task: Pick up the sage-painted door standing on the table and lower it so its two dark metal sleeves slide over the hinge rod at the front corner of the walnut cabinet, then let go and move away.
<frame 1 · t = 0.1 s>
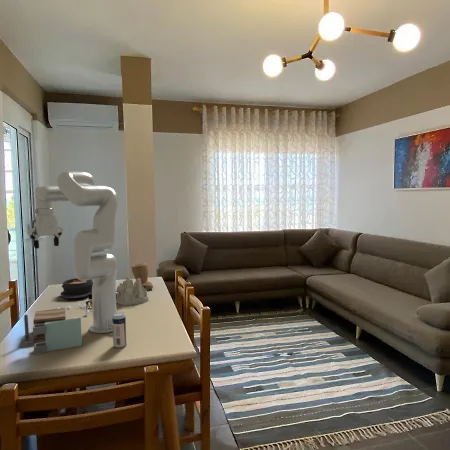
hand: (46, 247, 175), 31 cm above the table, tool pointing down, fingers open, 9 cm apart
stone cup: (142, 288, 217), on the table
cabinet: (51, 332, 146), on the table
beer can: (120, 346, 133), on the table
casserole: (78, 295, 203), on the table
grey castle model: (132, 301, 191), on the table
door: (64, 347, 132), on the table
game piece set: (72, 314, 171), on the table
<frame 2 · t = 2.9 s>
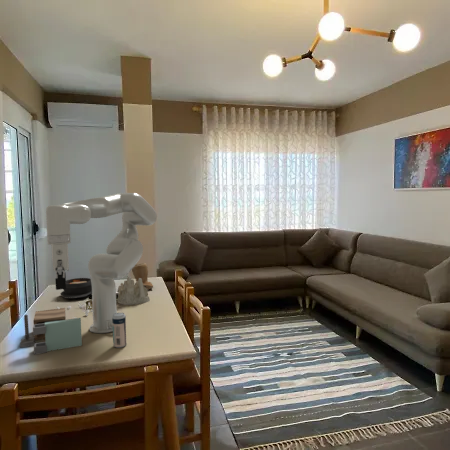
hand: (61, 286, 130), 23 cm above the table, tool pointing down, fingers open, 9 cm apart
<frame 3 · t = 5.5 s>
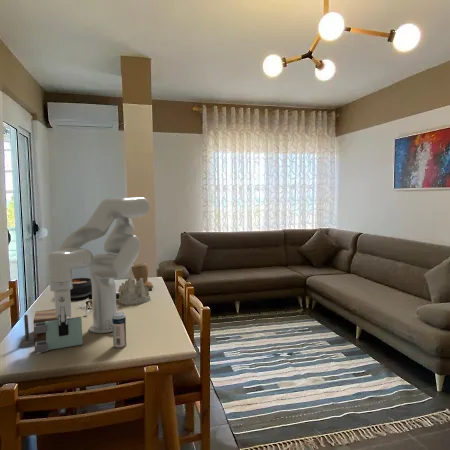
hand: (63, 333, 132), 5 cm above the table, tool pointing down, fingers closed on door
door: (65, 346, 132), on the table, touching gripper
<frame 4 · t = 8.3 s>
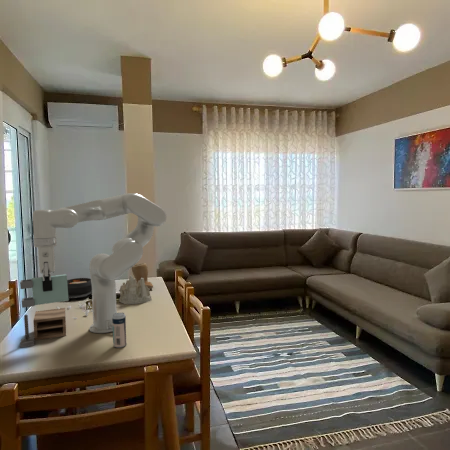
hand: (47, 289, 137), 20 cm above the table, tool pointing down, fingers closed on door
door: (51, 302, 137), point 15 cm above the table, touching gripper
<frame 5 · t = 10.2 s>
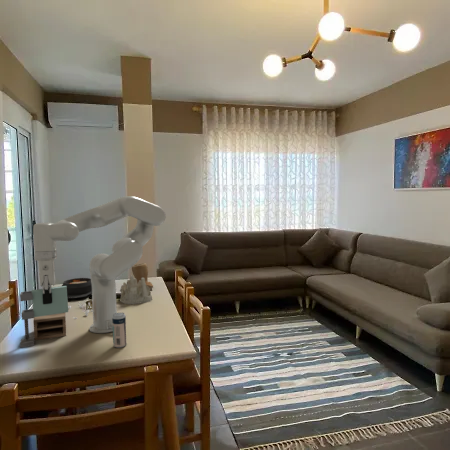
hand: (47, 302, 137), 15 cm above the table, tool pointing down, fingers closed on door
door: (51, 313, 138), point 11 cm above the table, touching gripper
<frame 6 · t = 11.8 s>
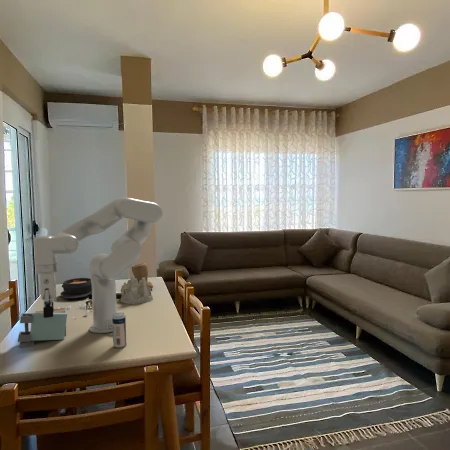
hand: (48, 314, 137), 10 cm above the table, tool pointing down, fingers open, 5 cm apart
door: (47, 339, 138), point 1 cm above the table, tilted 8°, touching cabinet
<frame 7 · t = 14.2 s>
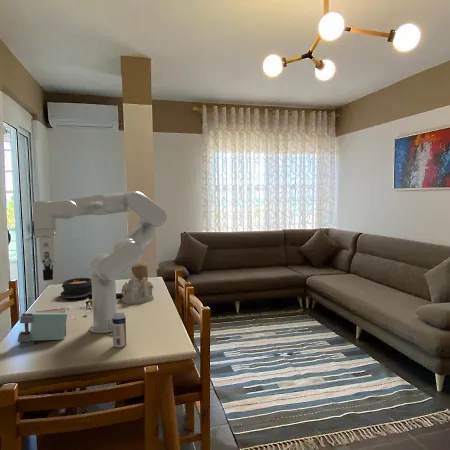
hand: (48, 277, 138), 25 cm above the table, tool pointing down, fingers open, 9 cm apart
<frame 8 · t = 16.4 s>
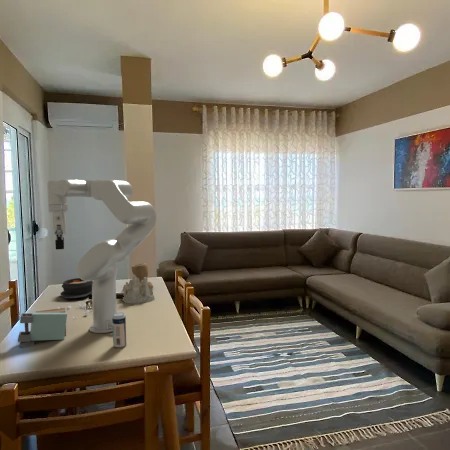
hand: (60, 247, 157), 33 cm above the table, tool pointing down, fingers open, 9 cm apart
at the end: door 1.0 cm from the target spot on the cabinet, point 0.9 cm above the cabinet's base; door tilted 8°; the gripper is holding nothing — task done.
